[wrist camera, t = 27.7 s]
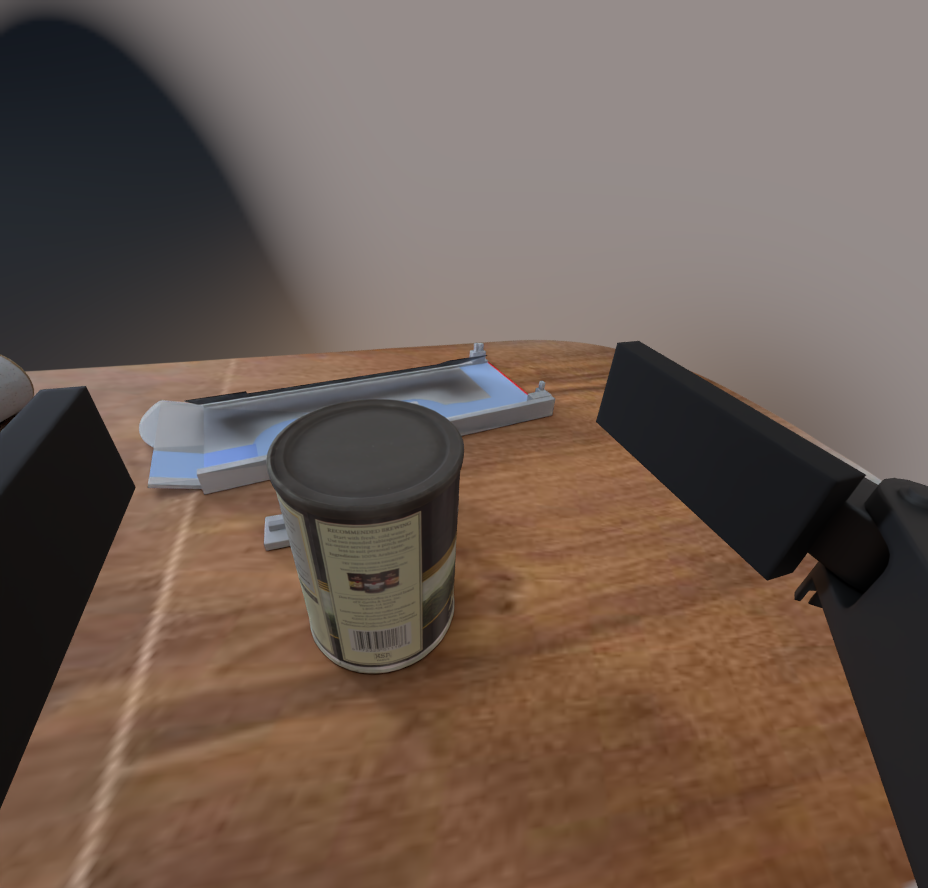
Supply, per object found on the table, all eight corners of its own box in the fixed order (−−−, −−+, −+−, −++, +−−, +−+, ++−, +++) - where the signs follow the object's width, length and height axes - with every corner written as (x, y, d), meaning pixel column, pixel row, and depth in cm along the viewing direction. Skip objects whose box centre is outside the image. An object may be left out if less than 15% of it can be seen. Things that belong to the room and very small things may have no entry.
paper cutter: (552, 415, 55) (559, 375, 52) (130, 511, 37) (103, 460, 34) (484, 360, 68) (487, 325, 65) (148, 412, 51) (130, 368, 47)
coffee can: (411, 531, 37) (407, 383, 29) (482, 623, 30) (503, 463, 22) (288, 584, 32) (243, 423, 24) (341, 709, 25) (302, 542, 17)
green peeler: (445, 491, 42) (446, 477, 41) (455, 513, 39) (456, 498, 38) (267, 523, 37) (262, 508, 36) (265, 551, 35) (261, 535, 34)
